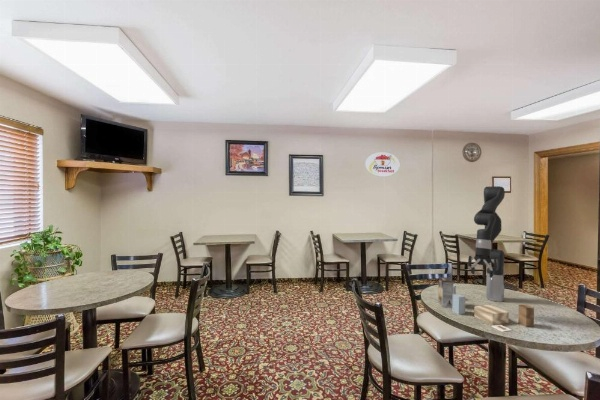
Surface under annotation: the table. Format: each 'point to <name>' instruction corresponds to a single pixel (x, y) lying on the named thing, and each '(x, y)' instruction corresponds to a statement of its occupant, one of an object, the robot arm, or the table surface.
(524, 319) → the walnut block
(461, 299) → the slate block
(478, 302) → the table surface
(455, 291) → the medicine box
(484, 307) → the birch block
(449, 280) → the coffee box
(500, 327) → the tile
